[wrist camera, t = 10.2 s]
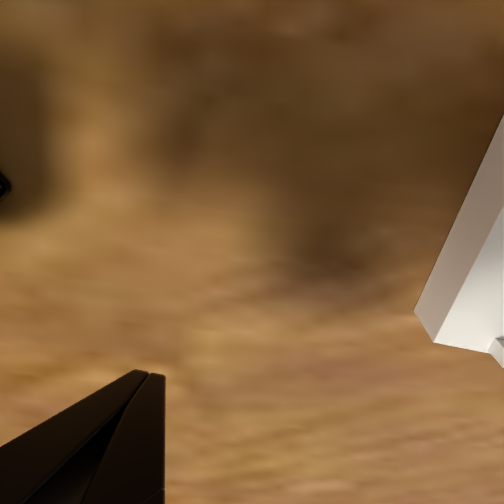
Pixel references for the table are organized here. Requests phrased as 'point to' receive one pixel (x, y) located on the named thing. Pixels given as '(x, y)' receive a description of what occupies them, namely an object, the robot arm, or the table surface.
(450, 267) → the switch box
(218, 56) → the table surface
